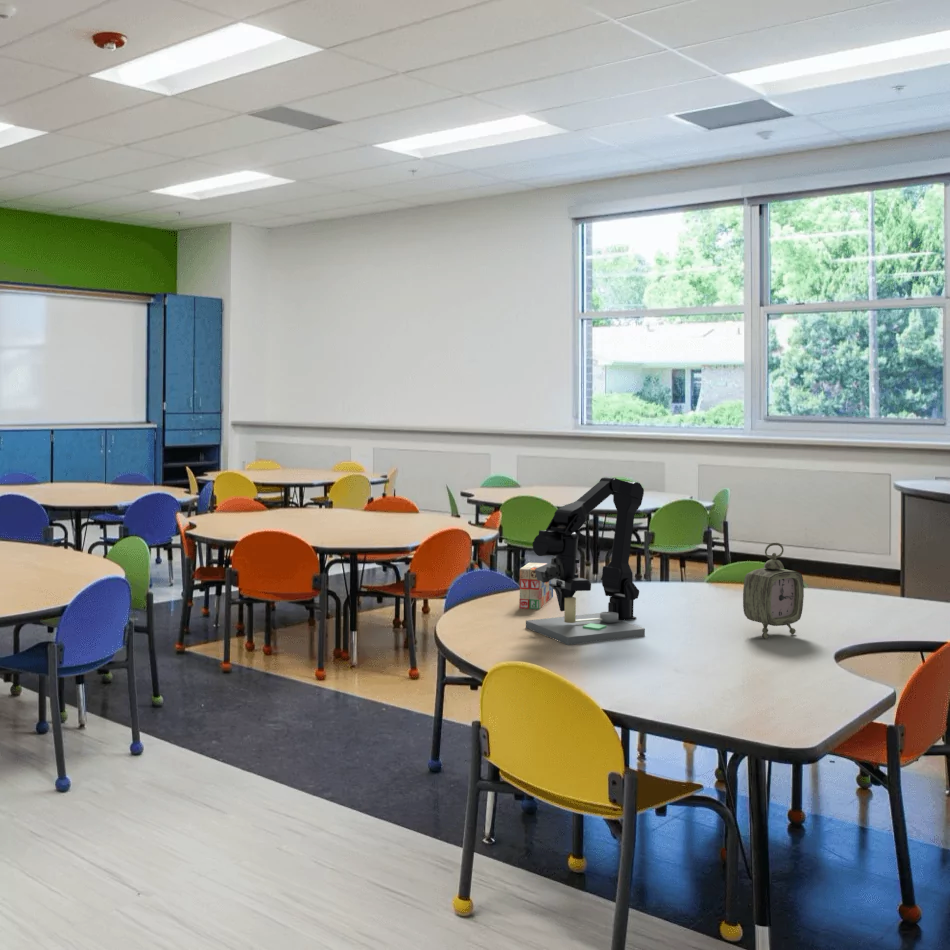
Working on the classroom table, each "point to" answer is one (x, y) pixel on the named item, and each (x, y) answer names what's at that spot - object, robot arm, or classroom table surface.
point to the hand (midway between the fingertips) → (562, 611)
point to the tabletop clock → (773, 594)
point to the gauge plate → (584, 629)
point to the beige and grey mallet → (571, 618)
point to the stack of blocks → (533, 588)
